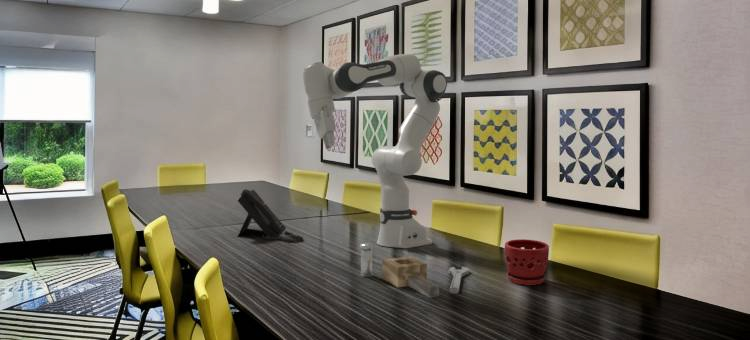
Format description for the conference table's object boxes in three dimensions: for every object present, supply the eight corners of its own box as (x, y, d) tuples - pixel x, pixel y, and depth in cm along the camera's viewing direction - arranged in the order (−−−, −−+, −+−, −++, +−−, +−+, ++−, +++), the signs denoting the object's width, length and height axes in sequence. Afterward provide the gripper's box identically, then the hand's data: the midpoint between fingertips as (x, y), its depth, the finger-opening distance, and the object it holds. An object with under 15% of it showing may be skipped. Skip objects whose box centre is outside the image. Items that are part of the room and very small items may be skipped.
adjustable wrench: (458, 295, 154) (458, 289, 154) (436, 293, 156) (436, 287, 155) (469, 272, 178) (469, 267, 177) (450, 270, 179) (450, 265, 179)
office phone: (301, 243, 216) (301, 193, 214) (230, 242, 216) (230, 192, 214) (310, 229, 245) (310, 185, 243) (248, 228, 245) (247, 184, 244)
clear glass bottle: (369, 273, 174) (370, 242, 173) (375, 276, 170) (376, 245, 169) (357, 274, 172) (357, 243, 171) (363, 278, 168) (363, 246, 167)
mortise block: (409, 274, 172) (410, 256, 172) (449, 294, 153) (449, 274, 152) (382, 278, 168) (382, 259, 167) (419, 299, 148) (419, 278, 148)
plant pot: (499, 275, 173) (500, 238, 172) (540, 276, 173) (542, 239, 172) (508, 287, 160) (509, 247, 159) (553, 288, 160) (554, 248, 159)
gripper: (334, 101, 180) (343, 142, 179) (327, 112, 200) (335, 148, 199) (316, 105, 178) (325, 145, 178) (310, 115, 198) (318, 152, 198)
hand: (330, 147), depth 189 cm, fingers open, 8 cm apart
